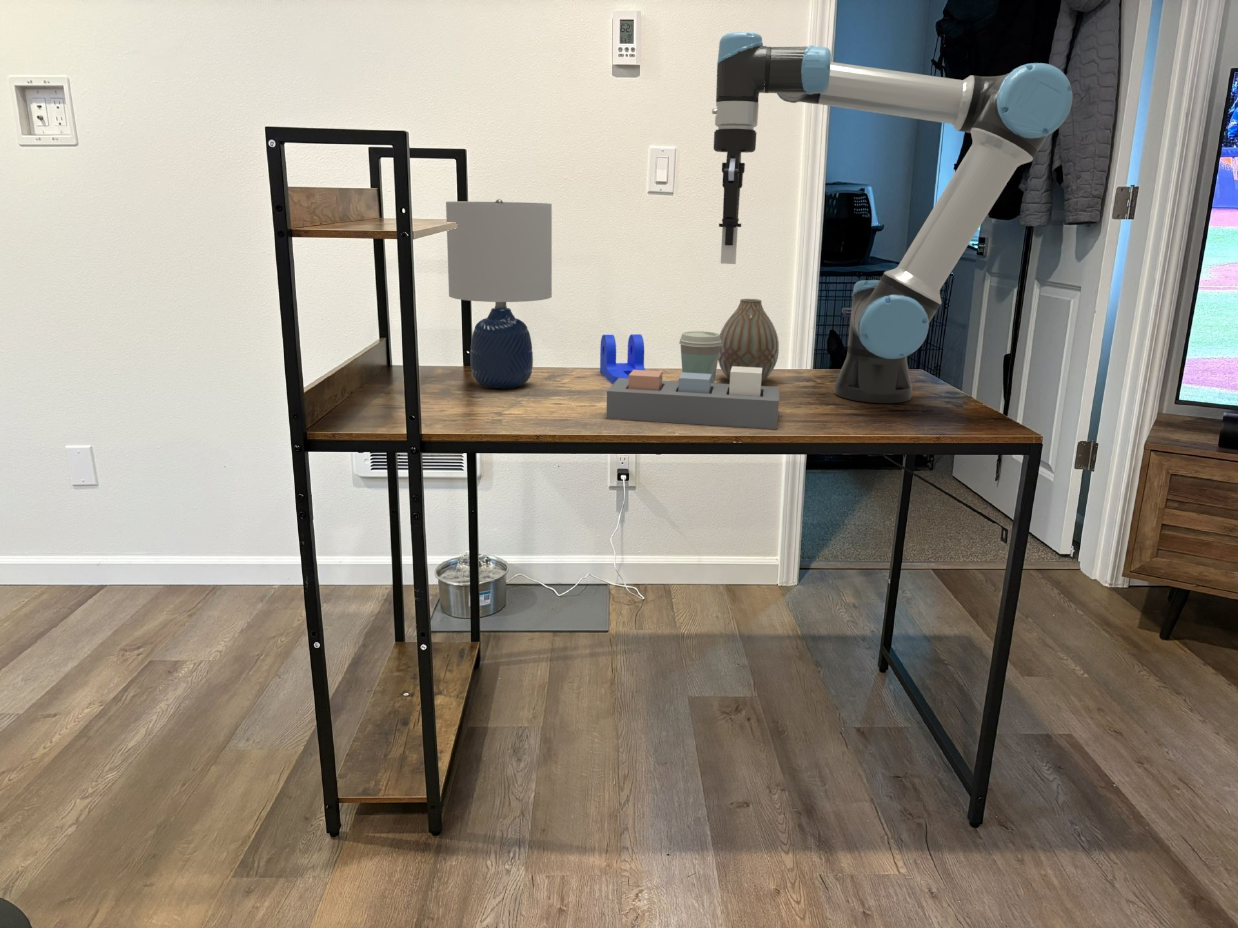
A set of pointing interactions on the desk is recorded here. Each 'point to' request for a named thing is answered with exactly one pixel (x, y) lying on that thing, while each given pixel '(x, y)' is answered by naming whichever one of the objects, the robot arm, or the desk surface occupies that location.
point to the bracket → (609, 357)
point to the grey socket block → (693, 405)
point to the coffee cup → (700, 352)
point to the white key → (745, 381)
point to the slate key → (695, 383)
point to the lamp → (500, 280)
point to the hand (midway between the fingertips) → (728, 263)
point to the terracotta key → (645, 380)
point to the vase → (749, 339)
